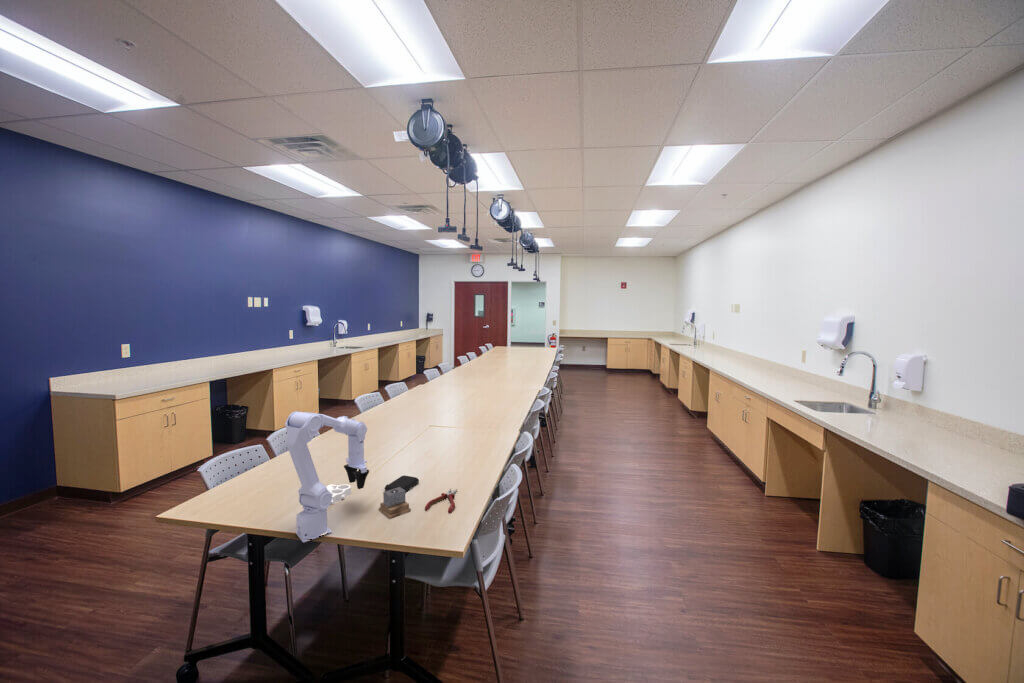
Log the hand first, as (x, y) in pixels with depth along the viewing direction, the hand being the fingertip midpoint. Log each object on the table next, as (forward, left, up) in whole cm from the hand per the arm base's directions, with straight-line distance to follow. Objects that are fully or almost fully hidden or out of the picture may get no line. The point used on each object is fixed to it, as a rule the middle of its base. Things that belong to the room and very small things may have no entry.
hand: (356, 485), depth 162 cm
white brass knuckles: (-5, +16, -10) cm, 20 cm away
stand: (+10, -12, -9) cm, 18 cm away
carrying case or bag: (+23, +6, -10) cm, 26 cm away
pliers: (+30, -20, -10) cm, 37 cm away
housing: (+10, -12, -6) cm, 17 cm away
